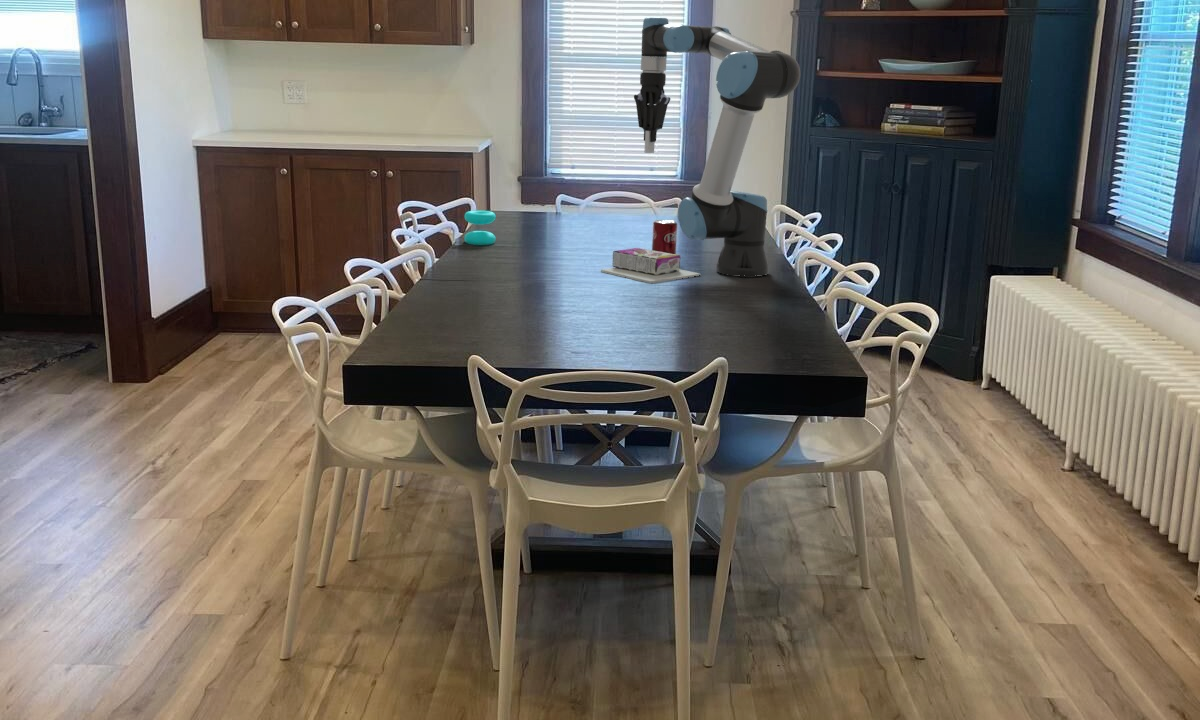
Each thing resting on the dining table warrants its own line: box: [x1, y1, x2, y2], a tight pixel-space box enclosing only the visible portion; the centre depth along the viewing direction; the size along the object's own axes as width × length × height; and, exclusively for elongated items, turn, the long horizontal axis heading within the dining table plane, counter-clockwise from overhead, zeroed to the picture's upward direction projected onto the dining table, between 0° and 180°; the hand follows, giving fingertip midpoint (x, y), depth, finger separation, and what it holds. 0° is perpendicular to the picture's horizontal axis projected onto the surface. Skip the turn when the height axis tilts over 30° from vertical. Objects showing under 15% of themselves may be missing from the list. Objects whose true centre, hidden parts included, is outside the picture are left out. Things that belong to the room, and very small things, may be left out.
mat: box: [600, 267, 702, 284], centre depth 319 cm, size 20×20×1 cm
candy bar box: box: [612, 247, 681, 275], centre depth 321 cm, size 11×5×16 cm
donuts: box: [464, 210, 497, 246], centre depth 359 cm, size 10×10×10 cm
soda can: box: [651, 219, 678, 255], centre depth 338 cm, size 7×7×12 cm
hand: (649, 152), depth 338 cm, fingers closed
